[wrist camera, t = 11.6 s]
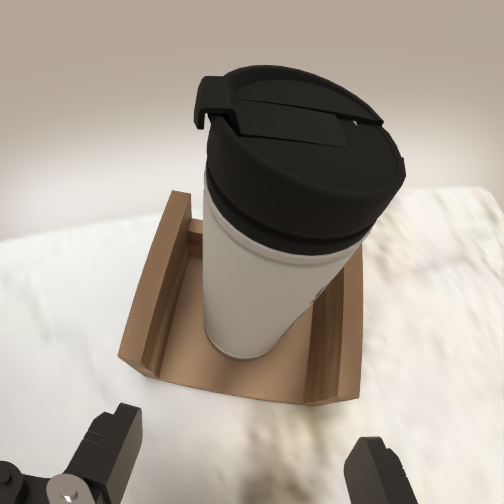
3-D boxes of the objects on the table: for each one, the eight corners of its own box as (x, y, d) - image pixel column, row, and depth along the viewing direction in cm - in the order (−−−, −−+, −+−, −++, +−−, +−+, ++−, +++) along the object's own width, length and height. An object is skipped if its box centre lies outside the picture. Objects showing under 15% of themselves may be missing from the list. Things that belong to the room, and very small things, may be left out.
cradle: (144, 375, 23) (117, 356, 16) (178, 248, 29) (172, 190, 22) (315, 405, 23) (359, 398, 16) (325, 277, 30) (361, 229, 23)
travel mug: (198, 287, 26) (200, 46, 9) (277, 286, 27) (378, 70, 10) (200, 362, 23) (186, 175, 6) (285, 358, 24) (456, 195, 7)
